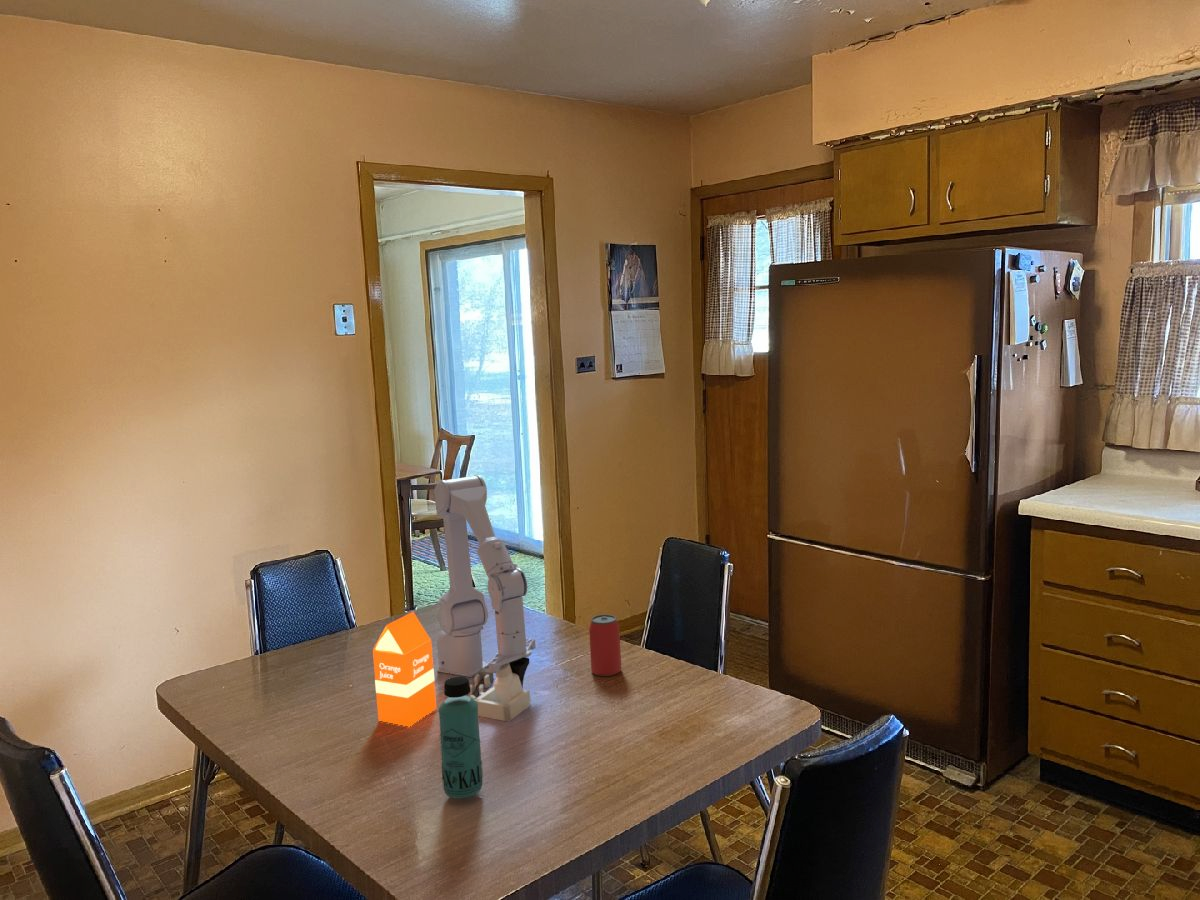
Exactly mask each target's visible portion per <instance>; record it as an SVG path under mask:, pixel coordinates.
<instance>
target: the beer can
mask: <svg viewBox="0 0 1200 900" xmlns="http://www.w3.org/2000/svg"><path fill="white" fill-rule="evenodd" d="M588 629H589V630H588V631H589V632H588V633H589V649H590V669H591V672H592V673H593V674H594V675H595V676H599V677H610V676H611V677H612V676H614V675H617V674H619V673H620V672H621V670H622V658H621V657H622V656H621V652H622V651H621V637H620V635H621V633H620V625H619V623H618V618H617V617H616V616H615V615H611V614H597V615H594V616H592V617H591V619H590V624H589V628H588Z"/></svg>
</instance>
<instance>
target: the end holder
mask: <svg viewBox="0 0 1200 900" xmlns="http://www.w3.org/2000/svg"><path fill="white" fill-rule="evenodd" d="M484 692H485V693H484V694H482V695H481V696H479V697H478V698H476V699H475V701H476V702H477V704H478V717H481V718H482V717H484V718H488V719H494V720H497V721H498V720H499V721H504V722H510V721H511V720H513V719H514V718H516V717H517V716H518V715H519V714H520V713H522V712H523V711H524V710H527V708H528V707H530V706H531V696H530V695H531V694H530V690H527V689H526V690H523V692H522V693H521V694H519V695H518V696H516V697H515V698H514V699H512V700H511V701H509V702H508V703H507V704H503V703H499V699H498V696H497V693H496V690H495V687H494V686H493V687H491V688H490V689H488V690H487V691H484Z"/></svg>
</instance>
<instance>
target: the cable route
mask: <svg viewBox="0 0 1200 900" xmlns="http://www.w3.org/2000/svg"><path fill="white" fill-rule="evenodd" d="M477 674H480V682H479V683H478V684H477V686H476V687H474V689H473V695H474V696H475V697H476V698H478V695H479V686H480V685H482V684H483V685H484V677H485V676H486V675H490V682H491V683H492V682H493V680H494V678H495V677H494V673H490V672H489V667H486V668H481V669H480V670H479V672H478V673H477Z"/></svg>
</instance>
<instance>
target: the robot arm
mask: <svg viewBox="0 0 1200 900" xmlns="http://www.w3.org/2000/svg"><path fill="white" fill-rule="evenodd" d="M487 489H488V488H487V485H486V482H485V480H484V479H483V477H482V476H481V475H479V474H475V475H472V476H466V477H459V478H457V477H456V478H451V479H439V480H438V481H437V483H436V484H435V488H434V491H433V493H434V502H435V504H434V505H435V511H436V515H437V516H439V517H441V518H442V520H443V529H444V540H445V550H446V561H447V569H448V580H449V588H448V590H447V591H446V592H444V593H443V595H441V596H440V598H439V602H438V614H437V615H438V616H437V619H438V624H439V626H440V628H441V631H440V632H439V634H438V637H437V644H436V645H437V646H436V647H437V657H438V668H437V669H436V672H438V673H446V674H449V673H450V675H456V676H462V677H466V678H472V677H475V675H476V674H478V672H479V670H480V669H481V668H489V672H490V673H493V674H496V673H497V674H498V673H499V672H500V668H501V667H502V665H504V664H507V663H509V664H510V668H511V670H512V673H515V674H517V675H518V676H519V679H520V682H521V685H522V688H523V686H524V677H525V674H526V672H527V669H528V666H529V664H530V658H529V657H531V656H532V651H531V650H534V649H536V648H537V647H536V639H534V638H528V637H526V635H527V634H526V626H525V625H526V623H525V611H524V598H523V597H524V596H526V595H527V593H528V581H527V578H526V575H525V572H524V571H523V570H522V569H521V568H520V567H519V566H518V565H517V564H516V563H514V562H513V560H512V558H511V556H510V553H509V552H508V549H507V546H506V544H505V542H504V540H502V539H501V538H499V537H496V534H495V531H494V528H493V525H492V523H491V520H490V519H491V518H490V517H489V512H488V509H487V508H486V504H487V499H488V490H487ZM468 525H469V528H470V529H471V531H472V533H473V535H474V537H475V538H476V540H477V542H478V544H479V546H478V548H477V551H476V552H477V555H478V558H479V560H480V561H481V565H482V567H483V570H484V572H485V574H486V576H487V579H488V580H487V585H486V586H487V587H486V588H487V591H488V596H489V598H490V601H491V604H490V605H491V608H492V609H493V610H494V616H495V628H496V629H495V632H496V640H497V641H496V642H497V643H496V644H497V652H496V653H495V655H494V657H493V658H492V659H491V660H490V661H486V660H485V661H484V660H483V659H484V658H483V647H482V635H481V634H482V633H481V632H482V630H484V625H486V624H487V621H488V618H489V610H488V607H487V604H486V601H485V595H484V593H483V592H482V591H481V590H480V589H478V588H475V587H473V577H472V566H471V565H472V564H471V556H470V555H471V554H470V544H469V535H468Z"/></svg>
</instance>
